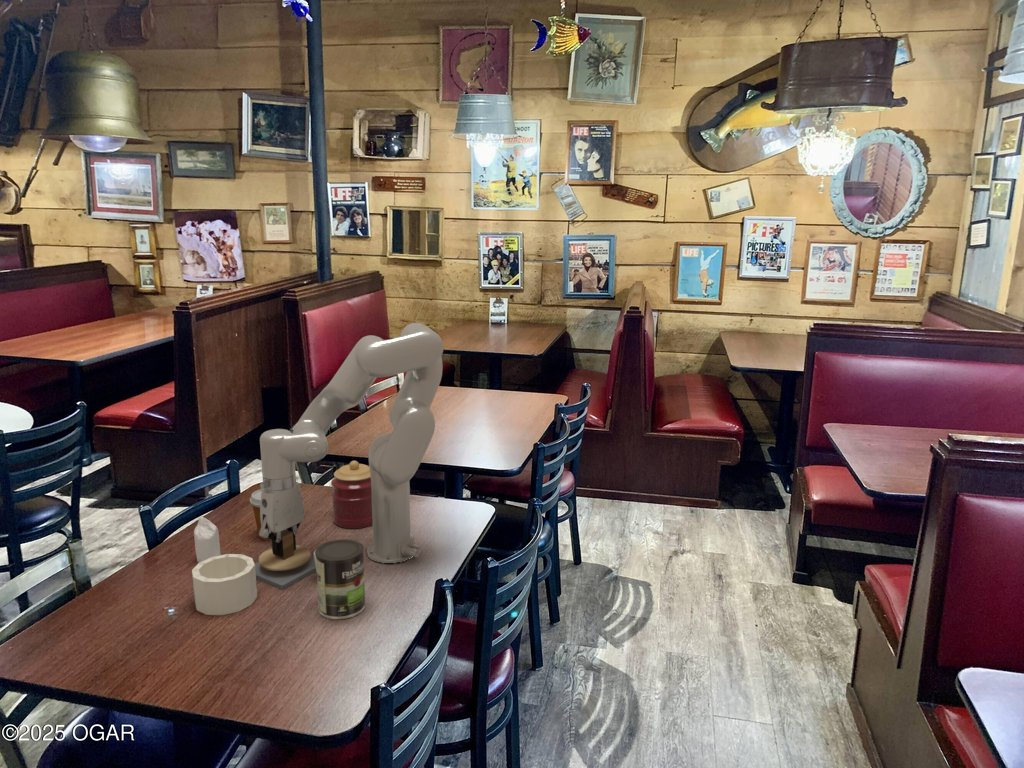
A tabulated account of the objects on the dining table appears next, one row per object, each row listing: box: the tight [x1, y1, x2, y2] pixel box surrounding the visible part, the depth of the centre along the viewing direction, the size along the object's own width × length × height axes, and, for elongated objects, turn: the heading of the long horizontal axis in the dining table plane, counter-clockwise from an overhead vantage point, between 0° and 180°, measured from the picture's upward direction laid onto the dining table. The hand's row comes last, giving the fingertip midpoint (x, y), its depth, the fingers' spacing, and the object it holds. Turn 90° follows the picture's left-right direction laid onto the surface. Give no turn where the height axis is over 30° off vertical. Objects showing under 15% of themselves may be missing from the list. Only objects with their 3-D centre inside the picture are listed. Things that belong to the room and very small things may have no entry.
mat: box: [254, 555, 317, 590], centre depth 181 cm, size 14×14×1 cm
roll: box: [193, 515, 222, 564], centre depth 184 cm, size 6×12×6 cm
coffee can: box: [314, 538, 366, 620], centre depth 163 cm, size 10×10×14 cm
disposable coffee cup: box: [249, 488, 270, 541], centre depth 198 cm, size 10×10×12 cm
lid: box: [258, 529, 311, 571], centre depth 179 cm, size 12×12×7 cm
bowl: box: [191, 553, 258, 616], centre depth 166 cm, size 13×13×8 cm
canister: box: [330, 460, 373, 529], centre depth 207 cm, size 13×13×18 cm
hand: (284, 551), depth 180 cm, fingers closed on lid, 3 cm apart
